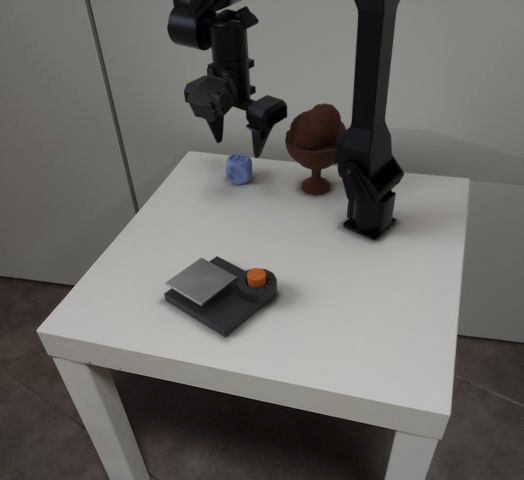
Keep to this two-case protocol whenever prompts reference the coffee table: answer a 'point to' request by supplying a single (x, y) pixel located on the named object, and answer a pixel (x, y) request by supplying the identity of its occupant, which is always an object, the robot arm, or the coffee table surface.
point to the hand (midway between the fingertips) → (238, 149)
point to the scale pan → (201, 281)
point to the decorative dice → (239, 168)
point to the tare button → (256, 278)
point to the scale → (227, 300)
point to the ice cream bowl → (315, 144)
